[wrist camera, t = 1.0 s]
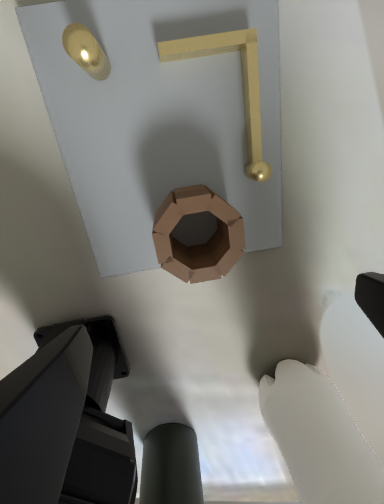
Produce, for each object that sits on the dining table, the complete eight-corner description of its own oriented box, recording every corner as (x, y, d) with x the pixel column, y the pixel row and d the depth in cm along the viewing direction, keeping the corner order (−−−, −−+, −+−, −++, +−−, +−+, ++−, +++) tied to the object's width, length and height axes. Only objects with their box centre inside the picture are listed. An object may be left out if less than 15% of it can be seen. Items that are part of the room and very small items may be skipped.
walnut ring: (232, 250, 20) (247, 273, 16) (164, 261, 19) (163, 288, 16) (225, 180, 18) (241, 188, 14) (149, 192, 18) (145, 204, 14)
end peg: (113, 78, 15) (98, 59, 12) (89, 82, 15) (68, 64, 12) (106, 49, 14) (89, 20, 11) (81, 52, 14) (57, 25, 11)
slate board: (278, 242, 21) (282, 246, 20) (103, 273, 20) (101, 278, 20) (272, -22, 15) (278, -31, 14) (22, 14, 14) (14, 7, 13)
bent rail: (261, 177, 18) (272, 180, 16) (181, 190, 18) (182, 195, 16) (255, 35, 15) (267, 19, 13) (158, 50, 15) (156, 36, 13)
